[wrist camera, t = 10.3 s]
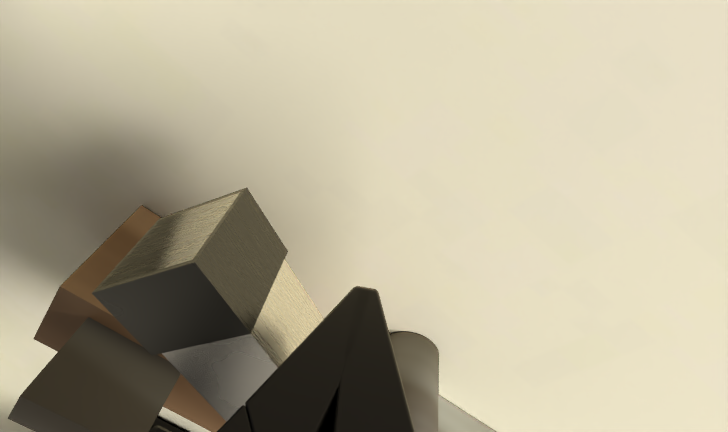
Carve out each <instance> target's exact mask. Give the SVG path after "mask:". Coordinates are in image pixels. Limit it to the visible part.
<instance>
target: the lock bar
mask: <svg viewBox="0 0 728 432" xmlns="http://www.w3.org/2000/svg"><path fill="white" fill-rule="evenodd" d="M287 252H288V251H287V249H286V248H285V246H284V245H283V243H282V242H281V240H280V238H279V237H278V235H277V234H276V232H275V231H274V229H273V228H272V226H271V225H270V223H269V221H268V220H267V218H266V217H265V215H264V214H263V212H262V211H261V209H260V207H259V206H258V204H257V203H256V201H255V200H254V198H253V197H252V195H251V194H250V192H249V190H248V189H247V188H245V189H242V190H239V191H236V192H233V193H230V194H228V195H225V196H222V197H219V198H216V199H213V200H211V201H208V202H205V203H202V204H199V205H196V206H194V207H191V208H188V209H185V210H182V211H179V212H177V213H174V214H171V215H168V216H165V217H162V218H160V219H158V221H157V222H156V223H155V224H154V225H153V226H152V227H151V228H150V229H149V230H148V232H147V233H146V234H145V235H144V236H143V237H142V238H141V239H140V240H139V241H138V243H137V244H136V245H135V246H134V247H133V248H132V249H131V250H130V251H129V252H128V254H127V255H126V256H125V257H124V258H123V259H122V260H121V261H120V262H119V263H118V265H117V266H116V267H115V268H114V269H113V270H112V271H111V272H110V273H109V274H108V276H107V277H106V278H105V279H104V280H103V281H102V282H101V283H100V284H99V286H98V287H97V288H96V289H95V290H94V291H93V292H92V294H93V295H94V296H95V297H96V298H97V299H98V300H99V301H100V303H101V304H102V305H103V306H104V307H105V308H106V309H107V310H108V311H109V312H110V313H111V314H112V315H113V316H114V317H115V318H116V319H117V320H118V321H119V322H120V323H121V324H122V325H123V326H124V327H125V328H126V329H127V330H128V331H129V333H130V334H131V335H132V336H133V337H134V338H135V339H136V340H137V341H138V342H139V343H140V344H141V345H142V346H143V347H144V348H145V349H146V350H147V351H148V352H149V353H150V354H151V355H156V354H161V353H162V354H163V355H164V356H165V357H166V358H167V360H168V361H169V362H170V363H171V364H172V365H173V366H174V367H175V368H176V369H177V370H178V371H179V372H180V373H181V374H182V375H183V376H184V377H185V379H186V380H187V381H188V382H189V383H190V384H191V385H192V386H193V387H194V388H195V389H196V390H197V391H198V392H199V393H200V394H201V395H202V396H203V398H204V399H205V400H206V401H207V402H208V403H209V404H210V405H211V406H212V407H213V408H214V409H215V410H216V411H217V412H218V413H219V414H220V415H221V417H222V418H223V419H224V420H225V421H226V422H227V421H228V420H229V419H230V417H231V416H232V415H233V414H234V413H235V412H236V411H237V410H238V409H239V408H240V407H241V406H242V405H244V406H245V402H246V401H247V400H248V399H249V398H250V397H251V396H252V394H253V393H254V392H255V391H256V390H257V389H258V388H259V387H260V386H261V385H262V384H263V383H264V382H265V381H266V380H267V379H268V378H269V377H270V375H271V374H272V373H273V372H274V371H275V370H276V369H277V368H278V367H279V366H280V365H281V364H282V363H283V362H284V361H285V360H286V359H287V358H288V356H289V355H290V354H291V353H292V352H293V351H294V350H295V349H296V348H297V347H298V346H299V345H300V344H301V343H302V342H303V341H304V340H305V339H306V337H307V336H308V335H309V334H310V333H311V332H312V331H313V330H314V329H315V328H316V327H317V326H318V325H319V324H320V323H321V322H322V321H323V320H324V318H323V317H322V315H321V314H320V312H319V311H318V309H317V308H316V306H315V305H314V303H313V302H312V300H311V299H310V297H309V296H308V294H307V292H306V291H305V289H304V288H303V286H302V285H301V283H300V282H299V280H298V279H297V277H296V276H295V274H294V273H293V271H292V270H291V268H290V267H289V265H288V264H287V262H286V260H285V256H286V254H287Z"/></svg>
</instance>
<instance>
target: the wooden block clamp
mask: <svg viewBox="0 0 728 432" xmlns="http://www.w3.org/2000/svg"><path fill="white" fill-rule="evenodd" d="M160 218H161V217H159V216H157V215H156V214H154V213H153V212H151V211H150V210H148V209H146V208H145V207H143V206H142V205H141V206H140V207H139V208H138V209H137V210H136V211H135V212H134V213H133V214H132V215H131V216H130V217H129V218H128V219H127V220H126V221H125V222H124V223H123V224H122V225H121V226H120V227H119V228H118V229H117V230H116V231H115V232H114V233H113V234H112V235H111V236H110V237H109V238H108V239H107V240H106V241H105V242H104V243H103V244H102V245H101V246H100V247H99V248H98V249H97V250H96V251H95V252H94V253H93V254H92V255H91V256H90V257H89V258H88V259H87V260H86V261H85V262H84V263H83V264H82V265H81V266H80V267H79V268H78V269H77V270H76V271H75V272H74V273H73V274H72V275H71V276H70V277H69V278H68V279H67V280H66V281H65V282H64V283H63V284H62V285H61V286H60V287H59V289H58V291H57V293H56V295H55V297H54V299H53V301H52V303H51V305H50V307H49V309H48V311H47V313H46V315H45V317H44V319H43V321H42V323H41V325H40V327H39V329H38V331H37V333H36V335H35V337H34V339H35V340H37V341H39V342H41V343H43V344H44V345H46V346H48V347H50V348H52V349H54V350H56V351H58V353H57V354H56V355H55V356H54V357H53V358H52V360H51V361H50V362H49V363H48V364H47V365H46V367H45V368H44V369H43V370H42V371H41V372H40V373H39V375H38V376H37V377H36V378H35V379H34V380H33V382H32V383H31V384H30V385H29V386H28V387H27V389H26V390H25V391H24V392H23V393H22V394H21V395H20V397H19V399H18V401H17V403H16V404H15V406H14V408H13V410H12V412H11V413H10V415H9V417H8V419H10V420H12V421H14V422H17V423H19V424H21V425H23V426H25V427H27V428H29V429H31V430H34V431H36V432H149V430H150V428H151V426H152V425H153V423H154V421H155V419H156V418H157V416H158V414H159V412H160V410H161V409H162V407H165V408H167V409H169V410H171V411H173V412H175V413H177V414H179V415H181V416H182V417H184V418H186V419H188V420H190V421H192V422H194V423H196V424H198V425H200V426H202V427H204V428H205V429H207V430H209V431H211V432H217V431H218V430H219V429H220V428H221V427H222V426H223V425H224V424H225V423H226V421H225V420H224V419H223V418H222V417H221V415H220V414H219V413H218V412H217V411H216V410H215V409H214V408H213V407H212V406H211V405H210V404H209V403H208V402H207V401H206V400H205V399H204V398H203V396H202V395H201V394H200V393H199V392H198V391H197V390H196V389H195V388H194V387H193V386H192V385H191V384H190V383H189V382H188V381H187V380H186V379H185V377H184V376H183V375H182V374H181V373H180V372H179V371H178V370H177V369H176V368H175V367H174V366H173V365H172V364H171V363H170V362H169V361H168V360H167V358H166V357H165V356H164V355H163V354H162V353H161V354H156V355H151V354H150V353H149V352H148V351H147V350H146V349H145V348H144V347H143V346H142V345H141V344H140V343H139V342H138V341H137V340H136V339H135V338H134V337H133V336H132V335H131V334H130V333H129V331H128V330H127V329H126V328H125V327H124V326H123V325H122V324H121V323H120V322H119V321H118V320H117V319H116V318H115V317H114V316H113V315H112V314H111V313H110V312H109V311H108V310H107V309H106V308H105V307H104V306H103V305H102V304H101V303H100V301H99V300H98V299H97V298H96V297H95V296H94V295H93V294H92V292H93V291H94V290H95V289H96V288H97V287H98V286H99V284H100V283H101V282H102V281H103V280H104V279H105V278H106V277H107V276H108V274H109V273H110V272H111V271H112V270H113V269H114V268H115V267H116V266H117V265H118V263H119V262H120V261H121V260H122V259H123V258H124V257H125V256H126V255H127V254H128V252H129V251H130V250H131V249H132V248H133V247H134V246H135V245H136V244H137V243H138V241H139V240H140V239H141V238H142V237H143V236H144V235H145V234H146V233H147V232H148V230H149V229H150V228H151V227H152V226H153V225H154V224H155V223H156V222H157V221H158V219H160ZM390 339H391V342H392V346H393V350H394V354H395V358H396V361H397V365H398V369H399V373H400V377H401V381H402V384H403V388H404V392H405V396H406V400H407V403H408V407H409V411H410V415H411V419H412V422H413V426H414V430H415V432H496V431H494V430H492V429H491V428H489V427H488V426H486V425H485V424H483V423H481V422H480V421H478V420H477V419H475V418H474V417H472V416H471V415H469V414H467V413H466V412H464V411H463V410H461V409H460V408H458V407H456V406H455V405H453V404H452V403H450V402H449V401H447V400H445V399H444V398H442V397H441V396H439V352H438V349H437V347H436V346H435V344H434V343H433V342H432V341H430V340H429V339H428V338H426V337H424V336H422V335H419V334H416V333H411V332H398V333H393V334H390Z"/></svg>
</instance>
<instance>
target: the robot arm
mask: <svg viewBox="0 0 728 432" xmlns="http://www.w3.org/2000/svg"><path fill="white" fill-rule="evenodd" d="M149 432H184V431H182V430H180V429H178V428H176V427H174V426H172V425H170V424H168V423H166V422H164V421H162V420H160V419H158V418H156V419H155V421H154V423H153V425H152V426H151V428H150V430H149ZM217 432H415V430H414V426H413V422H412V419H411V415H410V411H409V407H408V403H407V400H406V396H405V392H404V388H403V384H402V381H401V377H400V373H399V369H398V365H397V361H396V358H395V354H394V350H393V346H392V342H391V339H390V335H389V331H388V327H387V323H386V320H385V316H384V312H383V308H382V304H381V300H380V297H379V293H378V291H377V290H376V289H371V288H366V287H360V286H356V287H354V288H353V289H352V290H351V291H350V292H349V293H348V294H347V295H346V296H345V297H344V298H343V299H342V301H341V302H340V303H339V304H338V305H337V306H336V307H335V308H334V309H333V310H332V311H331V312H330V313H329V314H328V315H327V316H326V317H325V318H324V320H323V321H322V322H321V323H320V324H319V325H318V326H317V327H316V328H315V329H314V330H313V331H312V332H311V333H310V334H309V335H308V336H307V337H306V339H305V340H304V341H303V342H302V343H301V344H300V345H299V346H298V347H297V348H296V349H295V350H294V351H293V352H292V353H291V354H290V355H289V356H288V358H287V359H286V360H285V361H284V362H283V363H282V364H281V365H280V366H279V367H278V368H277V369H276V370H275V371H274V372H273V373H272V374H271V375H270V377H269V378H268V379H267V380H266V381H265V382H264V383H263V384H262V385H261V386H260V387H259V388H258V389H257V390H256V391H255V392H254V393H253V394H252V396H251V397H250V398H249V399H248V400H247V401H246V402H245V406H244V405H242V406H241V407H240V408H239V409H238V410H237V411H236V412H235V413H234V414H233V415H232V416H231V417H230V419H229V420H228V421H227V422H226V423H225V424H224V425H223V426H222V427H221V428H220V429H219V430H218V431H217Z"/></svg>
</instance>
